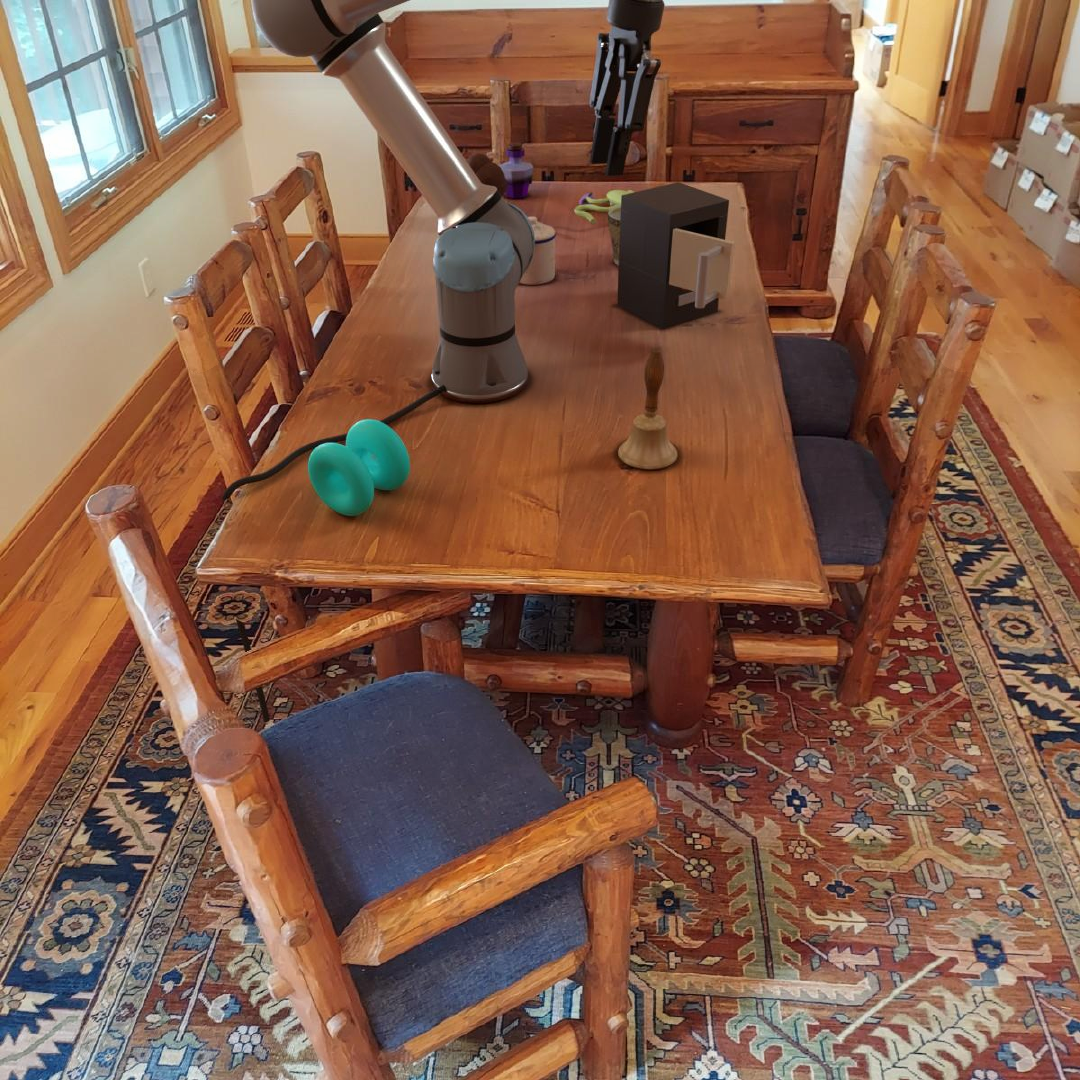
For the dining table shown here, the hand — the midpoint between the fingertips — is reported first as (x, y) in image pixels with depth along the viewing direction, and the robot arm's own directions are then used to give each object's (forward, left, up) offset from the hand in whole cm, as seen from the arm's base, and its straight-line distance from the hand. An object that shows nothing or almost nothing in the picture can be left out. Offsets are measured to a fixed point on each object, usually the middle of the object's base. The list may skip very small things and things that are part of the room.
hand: (605, 168), depth 144 cm
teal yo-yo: (-55, +11, -30) cm, 63 cm away
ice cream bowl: (+48, +48, -30) cm, 74 cm away
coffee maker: (+21, -4, -30) cm, 36 cm away
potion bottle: (+70, +51, -30) cm, 92 cm away
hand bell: (-29, -19, -30) cm, 45 cm away
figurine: (+63, +22, -30) cm, 73 cm away
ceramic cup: (+41, +10, -30) cm, 52 cm away
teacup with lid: (+24, +26, -30) cm, 46 cm away
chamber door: (+8, -12, -21) cm, 26 cm away
